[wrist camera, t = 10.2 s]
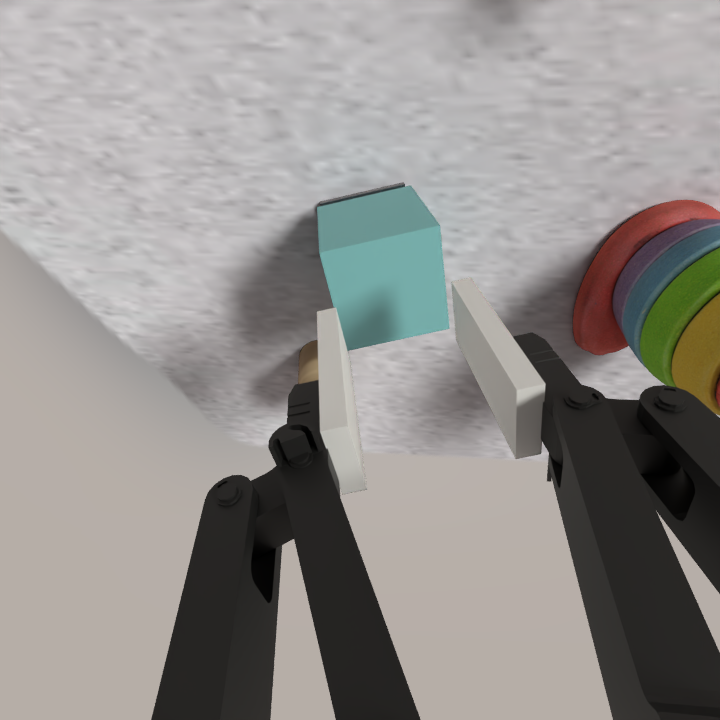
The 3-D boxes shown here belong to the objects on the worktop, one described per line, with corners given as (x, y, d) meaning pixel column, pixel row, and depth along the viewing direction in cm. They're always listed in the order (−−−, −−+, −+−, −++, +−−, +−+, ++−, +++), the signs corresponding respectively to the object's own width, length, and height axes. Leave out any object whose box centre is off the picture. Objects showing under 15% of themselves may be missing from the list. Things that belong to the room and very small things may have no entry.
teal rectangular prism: (317, 207, 24) (319, 252, 19) (410, 185, 24) (439, 225, 19) (338, 291, 27) (345, 351, 22) (421, 272, 27) (449, 328, 22)
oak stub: (293, 345, 30) (291, 386, 27) (336, 335, 30) (340, 375, 26) (305, 378, 32) (304, 421, 28) (345, 369, 32) (350, 411, 28)
